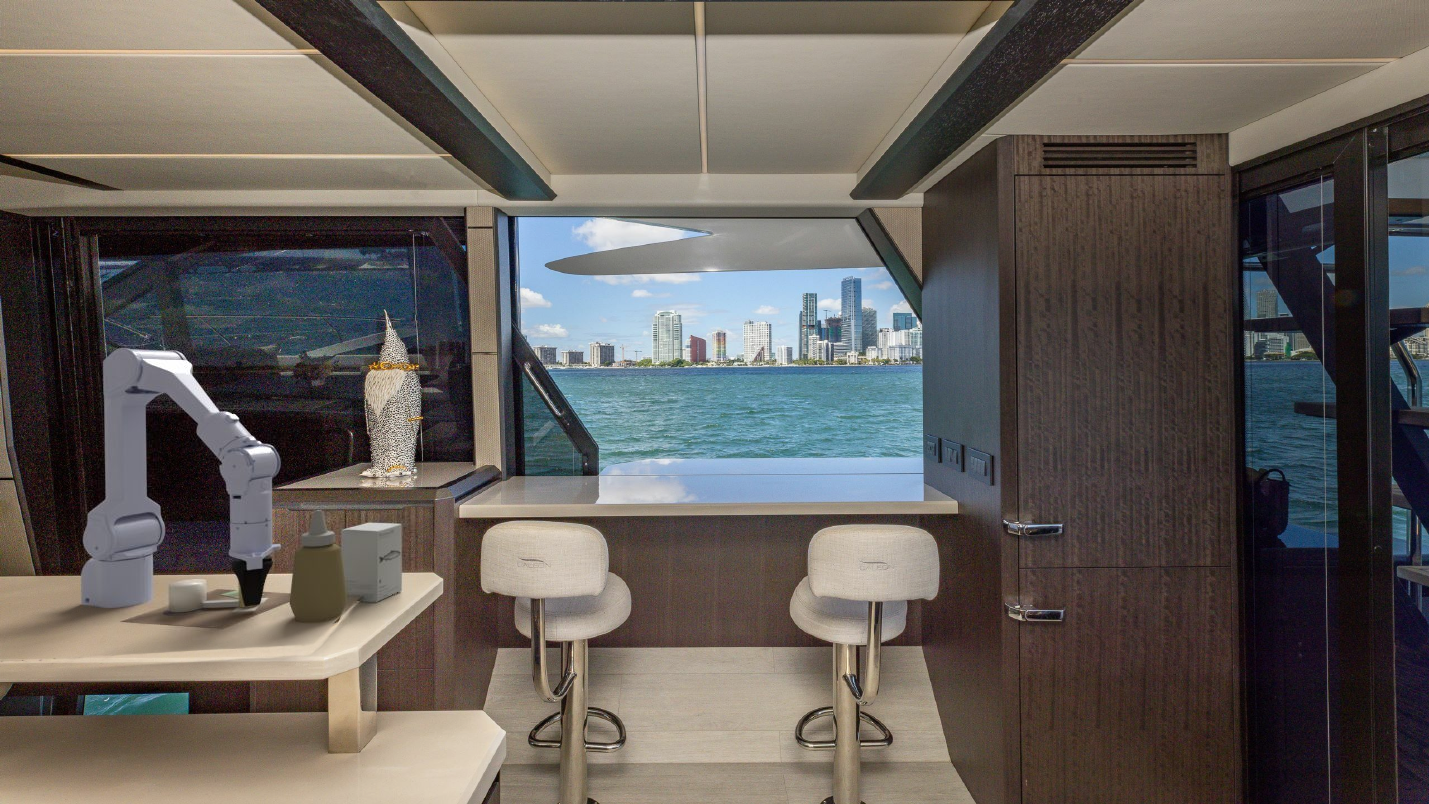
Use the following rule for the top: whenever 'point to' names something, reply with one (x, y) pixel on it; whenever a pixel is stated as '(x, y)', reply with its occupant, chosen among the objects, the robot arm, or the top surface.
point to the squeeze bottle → (318, 575)
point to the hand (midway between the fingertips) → (252, 604)
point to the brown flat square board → (213, 611)
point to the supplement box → (372, 560)
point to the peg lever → (196, 597)
